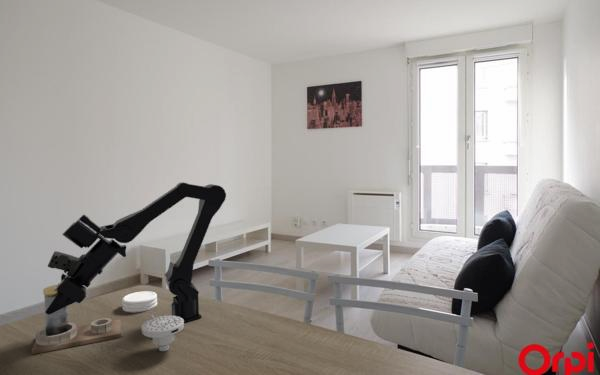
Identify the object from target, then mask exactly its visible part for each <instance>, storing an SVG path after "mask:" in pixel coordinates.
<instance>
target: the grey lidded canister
mask: <svg viewBox="0 0 600 375" xmlns="http://www.w3.org/2000/svg"><path fill="white" fill-rule="evenodd" d="M57 286H58V284H56V285H51V286H46V287H45V288H43V289H42V290H43V291H42V292H43V293H42V294H43V295H44V318H45V319H44V320H45V321H44V322H45V326H44V327H45V329H46V336H53V335H58V334H62V333H64V332H67V331H68V323H69V309H68V306H69V305H68V306H66V307H64V308H62V309H60V310H58V311H56V312H54V313H52V314H49V315H48V314H47V313H45V311H46V310H47V308H48V307H49V305H50V304H51V303H52V301H53V300H54V298H55V297H56V295H57V294H58V291H57Z"/></svg>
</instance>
